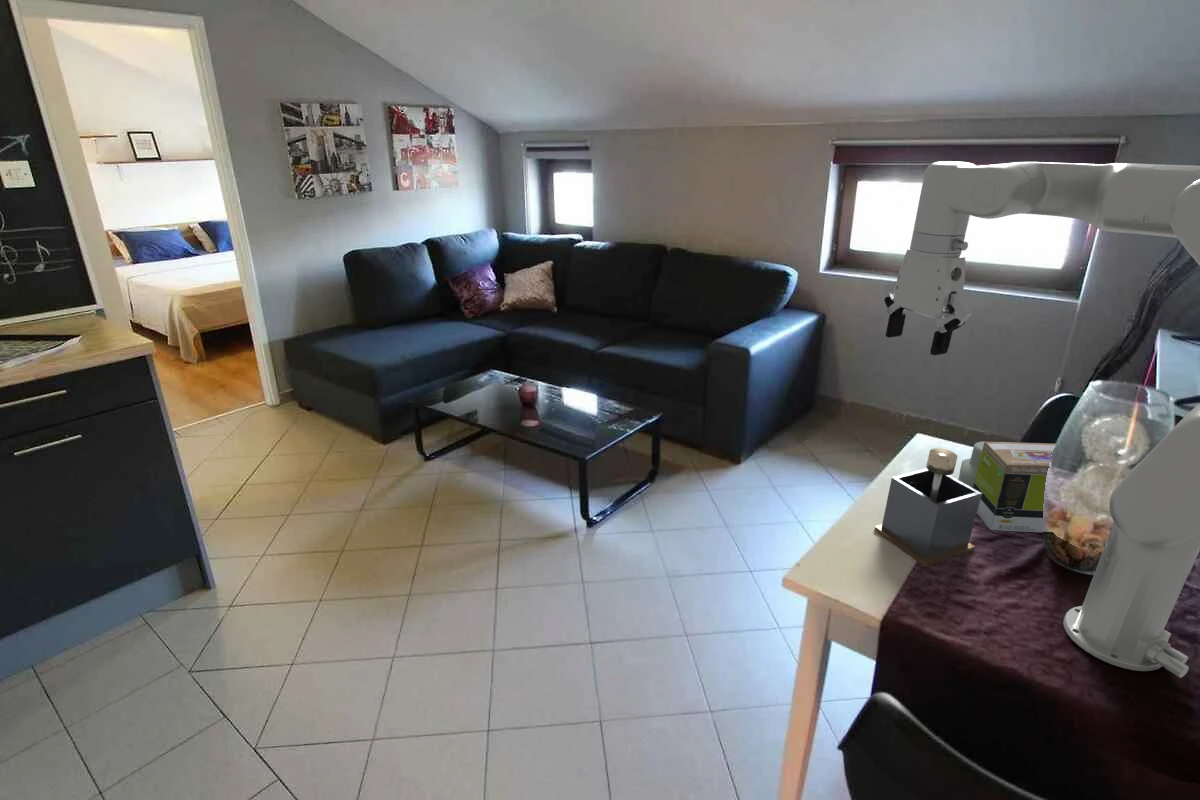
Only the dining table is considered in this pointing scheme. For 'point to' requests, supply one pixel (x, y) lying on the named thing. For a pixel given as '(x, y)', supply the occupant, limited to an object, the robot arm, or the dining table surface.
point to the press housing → (929, 517)
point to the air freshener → (971, 465)
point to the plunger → (940, 467)
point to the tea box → (1013, 485)
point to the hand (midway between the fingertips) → (915, 344)
